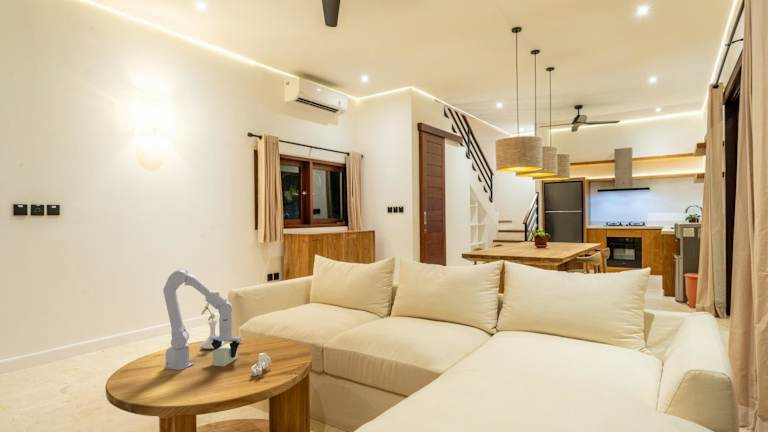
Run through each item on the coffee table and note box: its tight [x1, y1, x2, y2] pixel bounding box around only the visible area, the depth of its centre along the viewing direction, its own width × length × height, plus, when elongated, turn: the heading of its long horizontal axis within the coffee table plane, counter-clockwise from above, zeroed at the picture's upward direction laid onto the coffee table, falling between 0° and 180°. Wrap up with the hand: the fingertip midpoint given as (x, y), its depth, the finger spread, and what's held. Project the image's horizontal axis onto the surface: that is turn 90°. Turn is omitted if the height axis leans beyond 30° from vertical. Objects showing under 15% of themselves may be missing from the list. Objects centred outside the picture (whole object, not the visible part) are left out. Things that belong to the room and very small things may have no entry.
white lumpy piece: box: [250, 351, 272, 377], centre depth 179 cm, size 8×6×12 cm
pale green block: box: [212, 342, 239, 367], centre depth 192 cm, size 6×12×7 cm, turn 168°
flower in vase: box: [200, 302, 226, 350], centre depth 212 cm, size 13×11×25 cm
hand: (226, 356), depth 192 cm, fingers open, 7 cm apart
